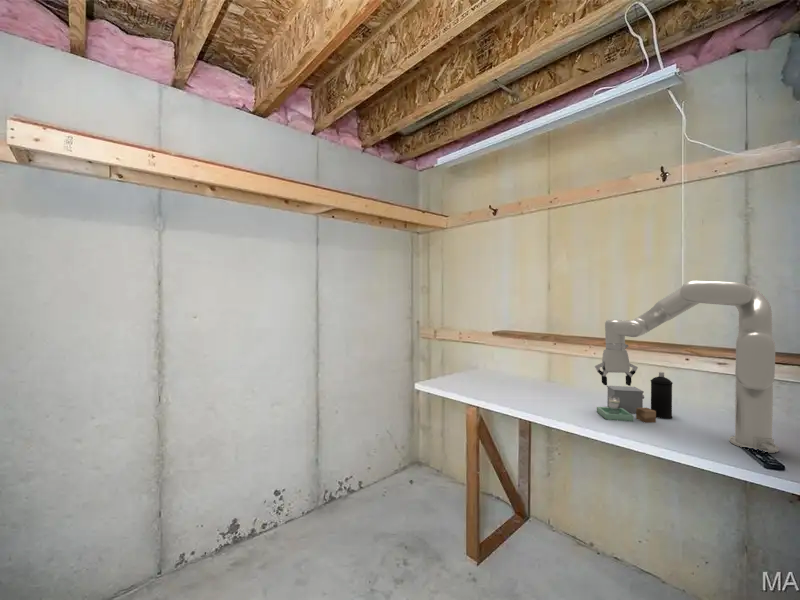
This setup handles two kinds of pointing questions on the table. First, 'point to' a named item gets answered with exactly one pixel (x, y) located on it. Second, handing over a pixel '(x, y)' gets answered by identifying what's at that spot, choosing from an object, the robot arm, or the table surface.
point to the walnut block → (646, 415)
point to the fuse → (614, 405)
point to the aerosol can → (661, 396)
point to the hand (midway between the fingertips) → (616, 384)
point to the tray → (621, 416)
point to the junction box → (627, 397)
